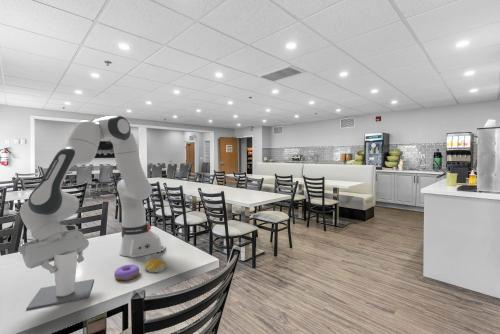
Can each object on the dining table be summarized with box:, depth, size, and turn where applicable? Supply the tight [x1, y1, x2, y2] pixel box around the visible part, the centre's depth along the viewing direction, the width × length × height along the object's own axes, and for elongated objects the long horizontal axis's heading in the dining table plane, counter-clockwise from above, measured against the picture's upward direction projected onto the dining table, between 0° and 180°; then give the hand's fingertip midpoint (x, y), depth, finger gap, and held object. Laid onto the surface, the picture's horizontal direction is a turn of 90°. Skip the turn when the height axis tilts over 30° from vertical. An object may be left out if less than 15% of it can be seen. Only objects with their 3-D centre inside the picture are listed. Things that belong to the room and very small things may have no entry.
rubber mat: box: [25, 278, 95, 311], centre depth 91 cm, size 17×14×1 cm
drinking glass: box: [53, 249, 78, 297], centre depth 90 cm, size 7×7×15 cm
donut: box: [113, 263, 140, 281], centre depth 105 cm, size 10×9×5 cm
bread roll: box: [144, 258, 167, 274], centre depth 112 cm, size 8×9×4 cm
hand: (68, 266), depth 90 cm, fingers open, 8 cm apart
